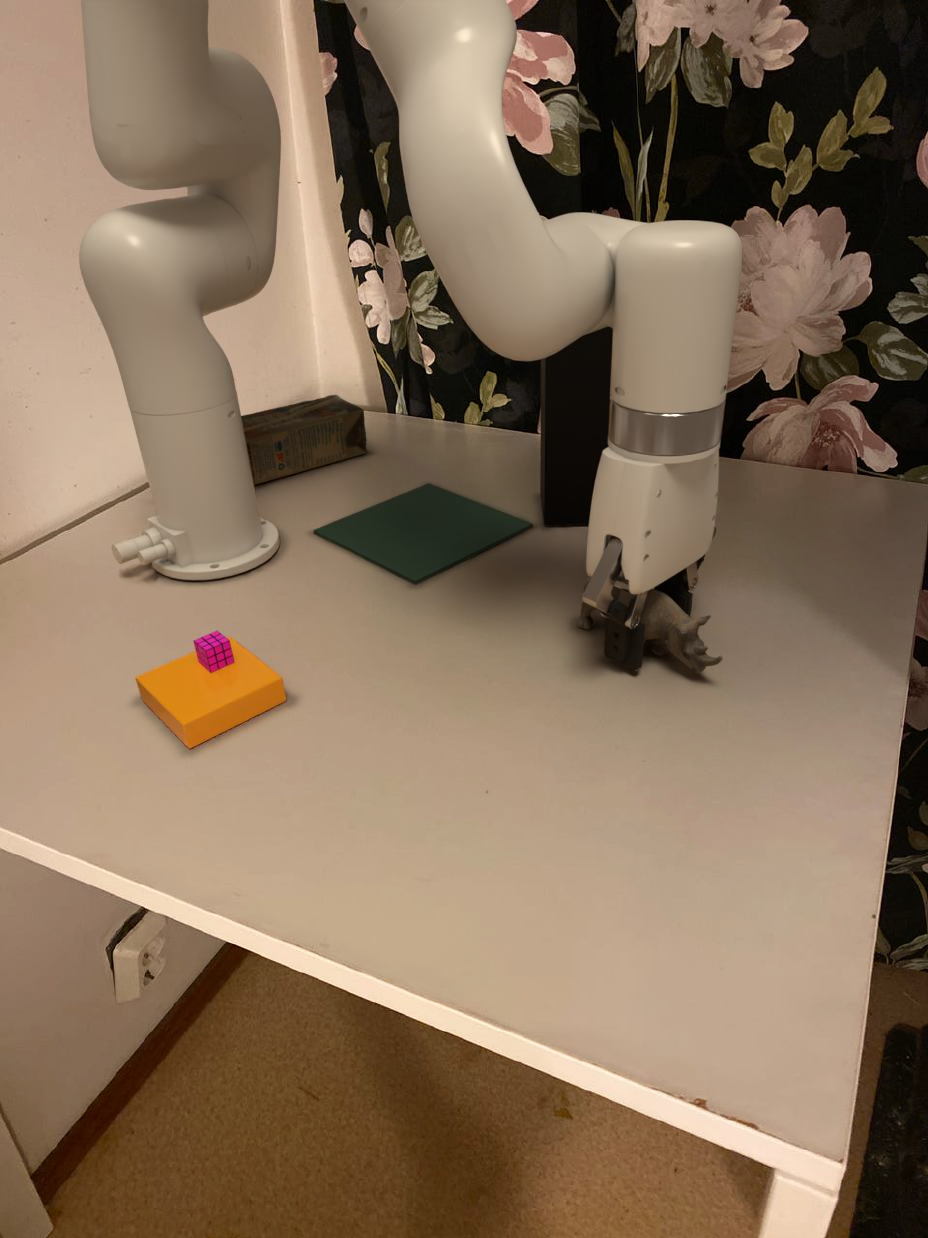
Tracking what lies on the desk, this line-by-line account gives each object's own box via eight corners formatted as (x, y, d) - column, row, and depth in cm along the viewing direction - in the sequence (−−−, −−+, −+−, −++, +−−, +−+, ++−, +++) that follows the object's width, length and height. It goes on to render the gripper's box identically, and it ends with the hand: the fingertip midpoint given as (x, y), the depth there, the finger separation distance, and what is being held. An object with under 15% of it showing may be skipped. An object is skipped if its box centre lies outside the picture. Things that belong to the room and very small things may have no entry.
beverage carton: (371, 454, 108) (366, 402, 104) (227, 497, 98) (216, 441, 95) (339, 437, 113) (333, 387, 110) (200, 477, 104) (189, 423, 100)
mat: (415, 584, 79) (415, 580, 79) (313, 533, 89) (313, 529, 89) (533, 526, 88) (533, 523, 88) (428, 486, 98) (428, 482, 98)
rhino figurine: (696, 704, 63) (704, 635, 59) (567, 626, 72) (569, 563, 69) (733, 683, 65) (743, 614, 61) (603, 610, 74) (606, 547, 71)
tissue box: (620, 525, 88) (638, 225, 73) (543, 528, 88) (545, 229, 73) (611, 494, 94) (625, 213, 80) (539, 496, 95) (540, 216, 80)
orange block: (287, 701, 65) (278, 654, 63) (189, 749, 61) (176, 701, 58) (235, 658, 70) (225, 613, 68) (141, 700, 66) (127, 654, 64)
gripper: (689, 382, 66) (669, 589, 75) (538, 445, 56) (537, 674, 65) (780, 402, 61) (747, 620, 70) (632, 474, 51) (617, 716, 61)
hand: (646, 644), depth 68 cm, fingers open, 5 cm apart
